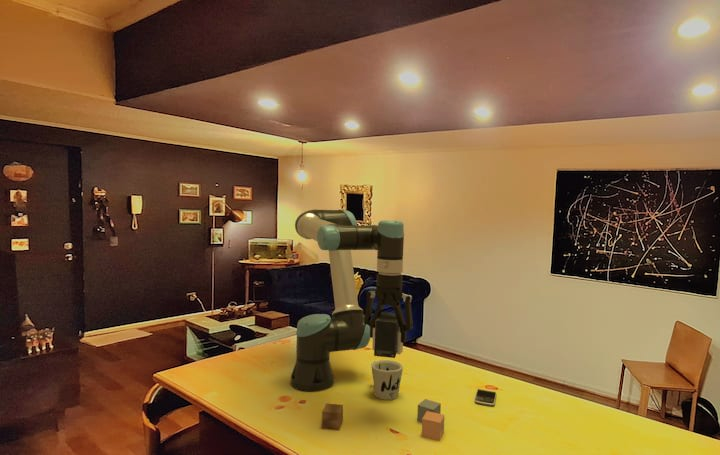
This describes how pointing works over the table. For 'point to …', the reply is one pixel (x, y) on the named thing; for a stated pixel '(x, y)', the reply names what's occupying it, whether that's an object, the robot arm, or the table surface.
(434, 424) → the terracotta cube
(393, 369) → the mug
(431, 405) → the slate cube
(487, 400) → the cell phone
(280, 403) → the table surface
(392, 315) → the small box
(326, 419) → the walnut cube
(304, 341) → the robot arm
